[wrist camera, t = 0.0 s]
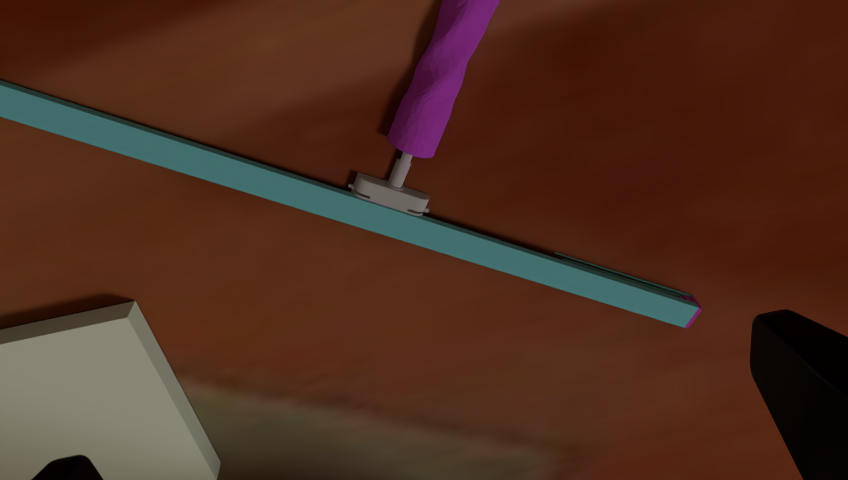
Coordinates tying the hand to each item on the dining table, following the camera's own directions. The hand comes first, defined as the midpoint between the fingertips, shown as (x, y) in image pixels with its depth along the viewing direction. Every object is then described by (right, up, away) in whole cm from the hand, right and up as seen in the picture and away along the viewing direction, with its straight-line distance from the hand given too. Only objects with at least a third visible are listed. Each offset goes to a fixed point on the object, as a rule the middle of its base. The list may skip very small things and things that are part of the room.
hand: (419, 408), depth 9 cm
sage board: (-14, -5, +19) cm, 24 cm away
